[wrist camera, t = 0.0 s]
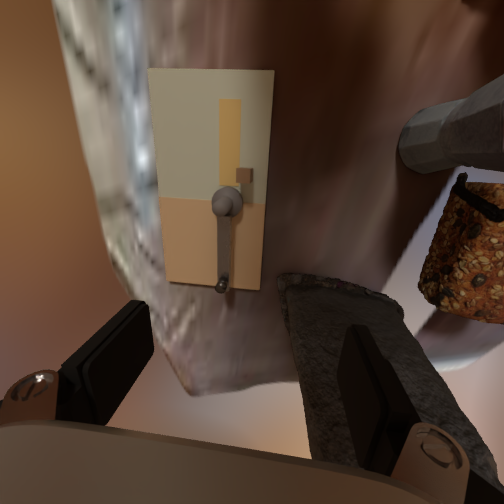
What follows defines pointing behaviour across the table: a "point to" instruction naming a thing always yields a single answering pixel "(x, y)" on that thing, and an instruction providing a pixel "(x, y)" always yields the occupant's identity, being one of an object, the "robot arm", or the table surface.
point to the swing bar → (224, 253)
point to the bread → (467, 259)
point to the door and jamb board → (211, 168)
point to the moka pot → (460, 140)
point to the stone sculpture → (392, 348)
